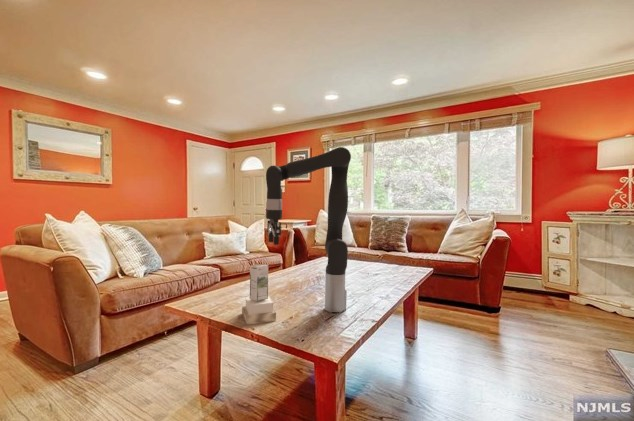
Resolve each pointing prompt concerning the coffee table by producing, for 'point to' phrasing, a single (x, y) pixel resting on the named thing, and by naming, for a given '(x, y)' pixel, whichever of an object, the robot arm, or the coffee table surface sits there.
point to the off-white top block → (259, 306)
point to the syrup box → (258, 282)
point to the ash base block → (258, 317)
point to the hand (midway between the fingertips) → (273, 243)
